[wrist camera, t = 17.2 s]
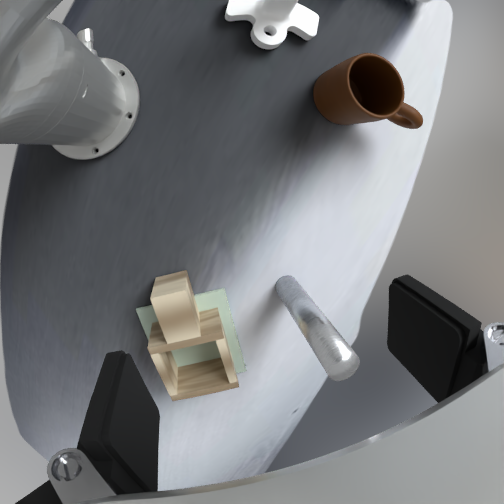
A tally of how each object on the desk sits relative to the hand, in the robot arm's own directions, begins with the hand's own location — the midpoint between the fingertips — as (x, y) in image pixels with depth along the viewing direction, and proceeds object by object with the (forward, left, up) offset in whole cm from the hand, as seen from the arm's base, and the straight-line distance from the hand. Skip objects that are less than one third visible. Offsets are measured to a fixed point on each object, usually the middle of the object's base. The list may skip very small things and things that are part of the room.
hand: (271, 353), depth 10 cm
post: (+12, +7, -28) cm, 32 cm away
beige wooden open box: (+14, -7, -28) cm, 32 cm away
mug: (-10, +20, -28) cm, 36 cm away
